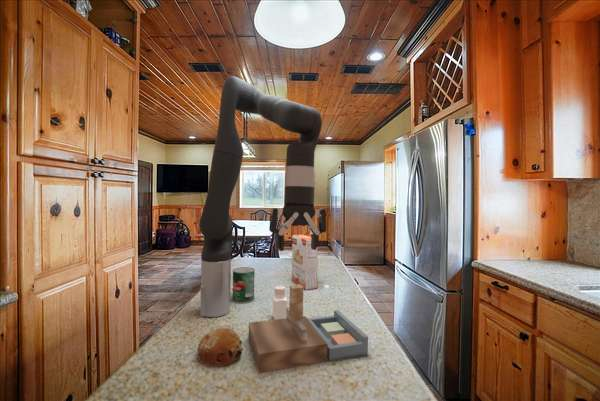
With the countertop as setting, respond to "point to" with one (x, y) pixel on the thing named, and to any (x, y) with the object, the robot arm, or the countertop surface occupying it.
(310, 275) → the cracker box
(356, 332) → the tray
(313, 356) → the board
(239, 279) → the canned tomato
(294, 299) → the long tan wooden block
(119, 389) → the countertop surface
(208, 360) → the bread roll
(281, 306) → the pepper shaker
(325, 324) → the sage tile
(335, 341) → the terracotta tile
